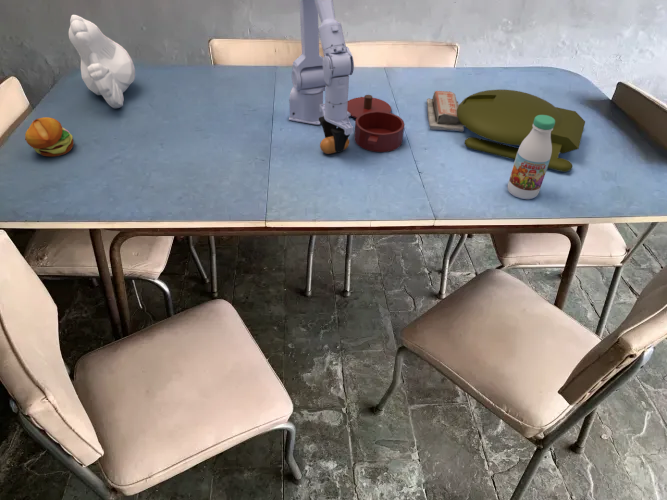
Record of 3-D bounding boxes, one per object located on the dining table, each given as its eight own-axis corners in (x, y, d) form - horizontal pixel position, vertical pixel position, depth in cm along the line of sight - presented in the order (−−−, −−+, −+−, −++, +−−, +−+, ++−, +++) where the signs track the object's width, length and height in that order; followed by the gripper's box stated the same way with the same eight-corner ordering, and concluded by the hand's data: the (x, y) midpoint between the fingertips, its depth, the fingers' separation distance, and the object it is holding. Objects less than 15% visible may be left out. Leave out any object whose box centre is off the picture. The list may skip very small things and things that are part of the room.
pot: (346, 152, 149) (347, 134, 145) (363, 120, 163) (364, 103, 159) (395, 160, 146) (397, 142, 143) (407, 128, 160) (409, 111, 157)
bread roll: (324, 158, 146) (325, 143, 143) (317, 150, 149) (317, 136, 146) (351, 151, 149) (352, 137, 146) (343, 143, 152) (344, 129, 149)
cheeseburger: (85, 142, 148) (70, 113, 140) (62, 169, 142) (44, 141, 134) (54, 134, 150) (37, 105, 142) (30, 161, 144) (10, 132, 136)
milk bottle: (502, 182, 140) (523, 110, 127) (531, 182, 141) (555, 110, 128) (512, 200, 134) (535, 127, 121) (542, 199, 135) (568, 126, 122)
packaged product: (428, 88, 170) (460, 90, 170) (425, 102, 173) (457, 104, 173) (431, 115, 156) (466, 117, 156) (429, 130, 160) (463, 132, 159)
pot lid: (338, 117, 164) (339, 102, 161) (350, 97, 174) (351, 83, 171) (385, 125, 161) (387, 110, 158) (394, 104, 172) (396, 90, 168)
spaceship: (582, 126, 165) (593, 95, 158) (569, 176, 143) (582, 143, 137) (468, 100, 175) (474, 71, 169) (440, 143, 154) (446, 111, 148)
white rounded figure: (89, 56, 175) (43, 8, 150) (137, 47, 174) (99, -2, 150) (95, 129, 170) (49, 92, 146) (145, 119, 170) (107, 81, 145)
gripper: (364, 108, 136) (361, 155, 145) (336, 85, 146) (334, 131, 154) (340, 114, 133) (337, 162, 142) (312, 90, 143) (312, 136, 152)
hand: (334, 146), depth 148 cm, fingers open, 5 cm apart
